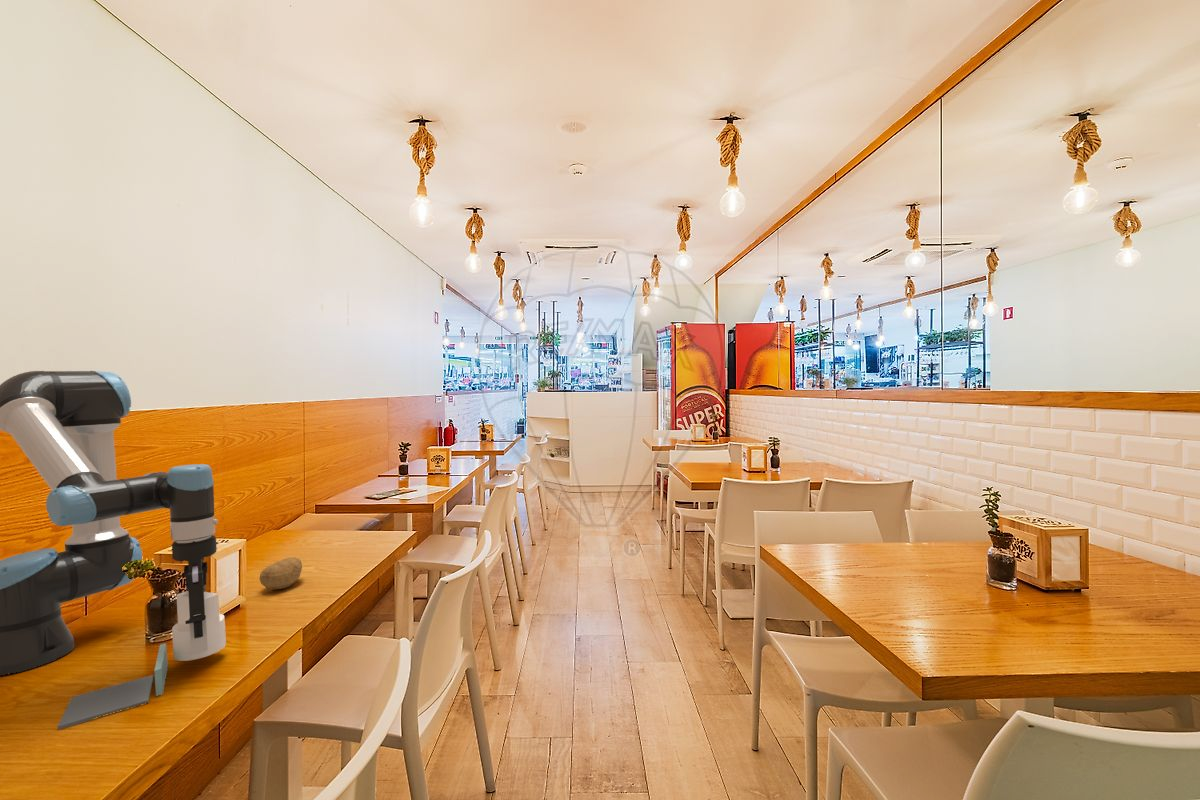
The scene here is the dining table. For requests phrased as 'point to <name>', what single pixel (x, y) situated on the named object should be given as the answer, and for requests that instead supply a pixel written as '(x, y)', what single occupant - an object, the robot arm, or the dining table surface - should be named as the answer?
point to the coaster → (106, 701)
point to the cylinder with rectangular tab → (213, 624)
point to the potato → (281, 573)
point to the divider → (161, 669)
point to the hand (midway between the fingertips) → (199, 642)
